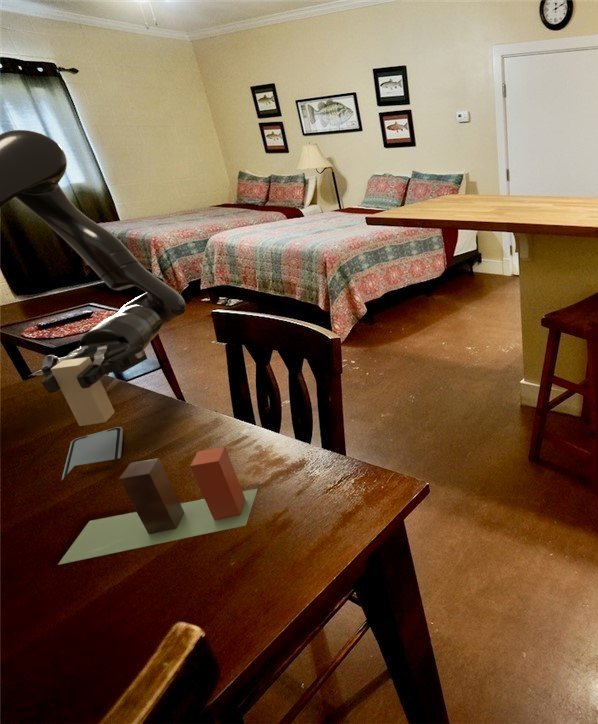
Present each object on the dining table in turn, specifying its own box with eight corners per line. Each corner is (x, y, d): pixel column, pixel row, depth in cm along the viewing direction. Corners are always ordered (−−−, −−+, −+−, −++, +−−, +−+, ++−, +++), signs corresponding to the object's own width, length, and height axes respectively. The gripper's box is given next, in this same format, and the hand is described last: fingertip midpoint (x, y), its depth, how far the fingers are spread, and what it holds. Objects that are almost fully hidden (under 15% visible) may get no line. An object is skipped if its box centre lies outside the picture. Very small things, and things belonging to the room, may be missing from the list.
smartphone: (59, 486, 75) (71, 439, 86) (62, 490, 76) (73, 443, 86) (118, 468, 79) (122, 425, 90) (120, 472, 80) (124, 429, 90)
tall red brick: (213, 520, 68) (189, 465, 64) (220, 504, 71) (198, 451, 66) (240, 515, 69) (218, 460, 64) (245, 499, 72) (225, 446, 67)
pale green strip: (60, 570, 62) (57, 564, 61) (92, 525, 69) (89, 520, 68) (247, 530, 68) (245, 525, 67) (259, 493, 75) (258, 488, 74)
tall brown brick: (148, 534, 66) (118, 478, 61) (157, 517, 69) (130, 462, 64) (176, 528, 67) (149, 473, 62) (184, 512, 70) (159, 458, 65)
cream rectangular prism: (79, 426, 74) (50, 368, 70) (89, 416, 77) (62, 360, 73) (105, 422, 75) (78, 365, 71) (115, 412, 78) (89, 356, 74)
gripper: (60, 325, 81) (-9, 369, 66) (157, 315, 85) (111, 355, 70) (80, 364, 84) (18, 414, 70) (172, 353, 88) (132, 398, 73)
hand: (65, 384), depth 70 cm, fingers closed on cream rectangular prism, 3 cm apart
